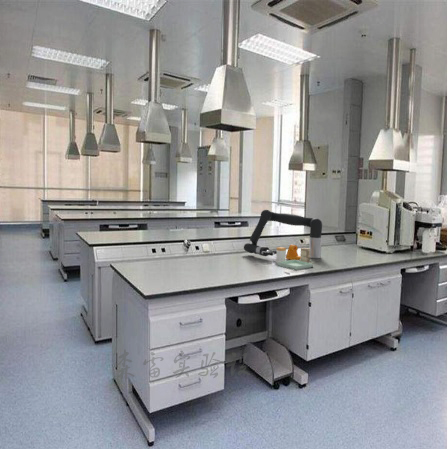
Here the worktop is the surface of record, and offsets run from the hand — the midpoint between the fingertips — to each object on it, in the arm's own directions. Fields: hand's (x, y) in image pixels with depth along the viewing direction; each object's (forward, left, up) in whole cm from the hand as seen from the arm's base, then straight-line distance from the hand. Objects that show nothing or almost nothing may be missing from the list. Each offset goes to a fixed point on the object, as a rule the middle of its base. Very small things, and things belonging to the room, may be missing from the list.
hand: (276, 253), depth 289 cm
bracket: (-20, 0, -7) cm, 21 cm away
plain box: (-14, +17, -7) cm, 23 cm away
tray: (0, +20, -6) cm, 21 cm away
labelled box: (0, +5, -7) cm, 8 cm away
